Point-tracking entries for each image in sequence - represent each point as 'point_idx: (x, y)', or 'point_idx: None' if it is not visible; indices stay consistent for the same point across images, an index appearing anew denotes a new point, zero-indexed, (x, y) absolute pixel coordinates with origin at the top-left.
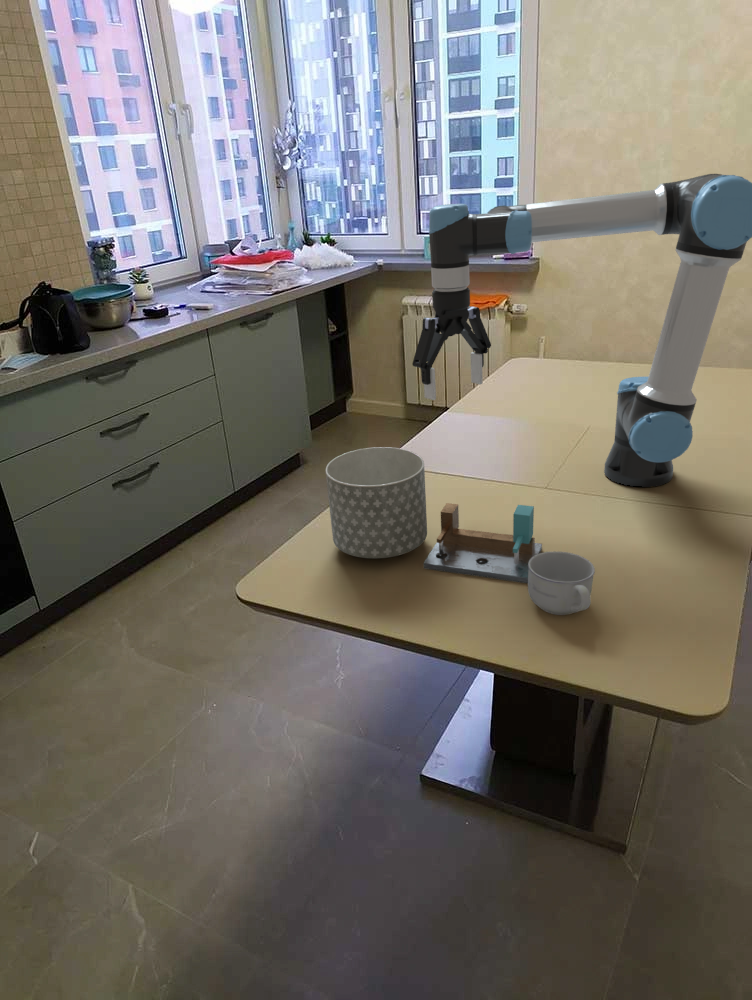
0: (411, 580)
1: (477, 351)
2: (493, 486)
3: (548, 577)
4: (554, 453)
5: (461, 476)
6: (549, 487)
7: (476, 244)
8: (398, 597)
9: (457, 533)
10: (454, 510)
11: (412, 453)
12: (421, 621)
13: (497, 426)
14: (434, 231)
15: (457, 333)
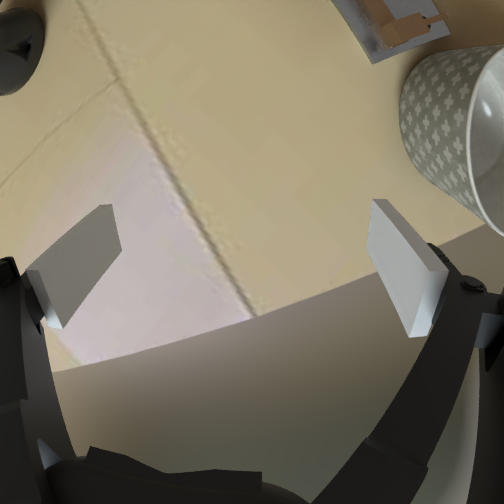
0: (470, 33)
1: (33, 304)
2: (175, 138)
3: None
4: (35, 176)
5: (189, 208)
6: (112, 77)
7: None
8: (496, 28)
9: (392, 19)
10: (409, 15)
11: (470, 121)
12: None
13: None
14: None
15: (138, 468)
